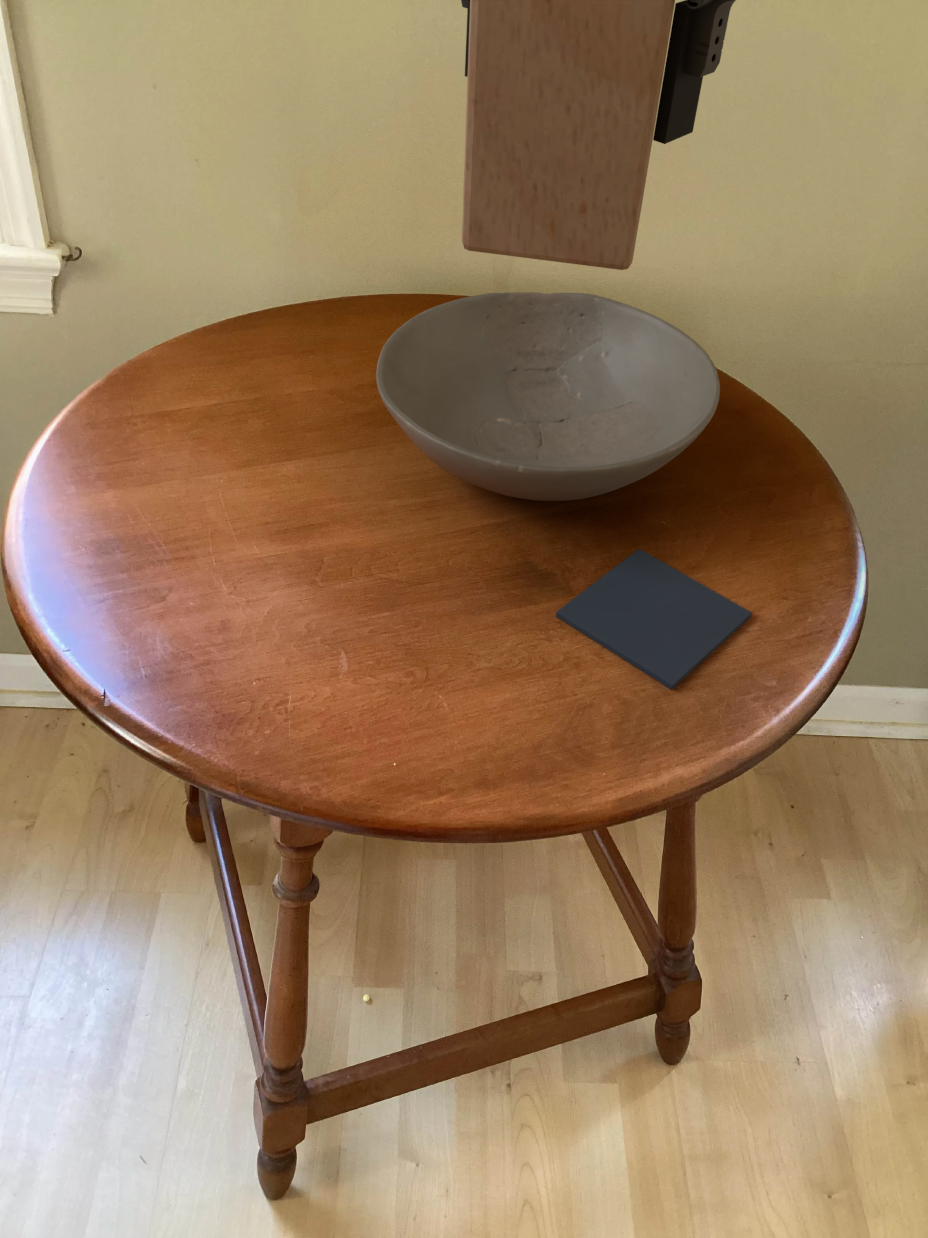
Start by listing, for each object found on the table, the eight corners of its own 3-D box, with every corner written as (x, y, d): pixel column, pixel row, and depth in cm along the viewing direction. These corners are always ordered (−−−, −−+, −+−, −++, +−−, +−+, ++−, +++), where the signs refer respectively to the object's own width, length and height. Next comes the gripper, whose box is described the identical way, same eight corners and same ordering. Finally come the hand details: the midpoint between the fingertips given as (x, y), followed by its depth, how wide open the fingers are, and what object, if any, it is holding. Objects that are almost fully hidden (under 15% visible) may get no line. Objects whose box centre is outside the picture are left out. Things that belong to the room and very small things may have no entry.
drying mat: (750, 617, 75) (752, 612, 75) (671, 690, 70) (673, 685, 69) (638, 553, 80) (639, 548, 79) (555, 616, 74) (556, 611, 74)
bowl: (729, 406, 95) (749, 324, 90) (656, 595, 76) (676, 505, 71) (451, 342, 102) (454, 261, 96) (320, 501, 83) (314, 411, 77)
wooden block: (630, 274, 60) (699, -150, 46) (459, 252, 61) (474, -169, 47) (642, 198, 67) (706, -192, 52) (489, 180, 68) (509, -207, 53)
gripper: (944, -407, 41) (800, 148, 56) (474, -426, 53) (457, 39, 67) (856, -418, 37) (725, 185, 52) (366, -436, 49) (373, 61, 63)
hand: (573, 103), depth 60 cm, fingers closed on wooden block, 13 cm apart
